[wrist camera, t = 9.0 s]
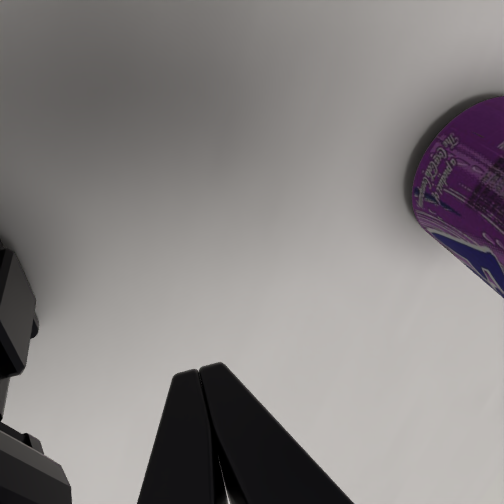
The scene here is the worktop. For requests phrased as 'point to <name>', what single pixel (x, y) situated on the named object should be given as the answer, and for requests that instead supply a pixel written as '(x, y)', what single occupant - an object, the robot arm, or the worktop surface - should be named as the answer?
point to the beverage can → (467, 190)
